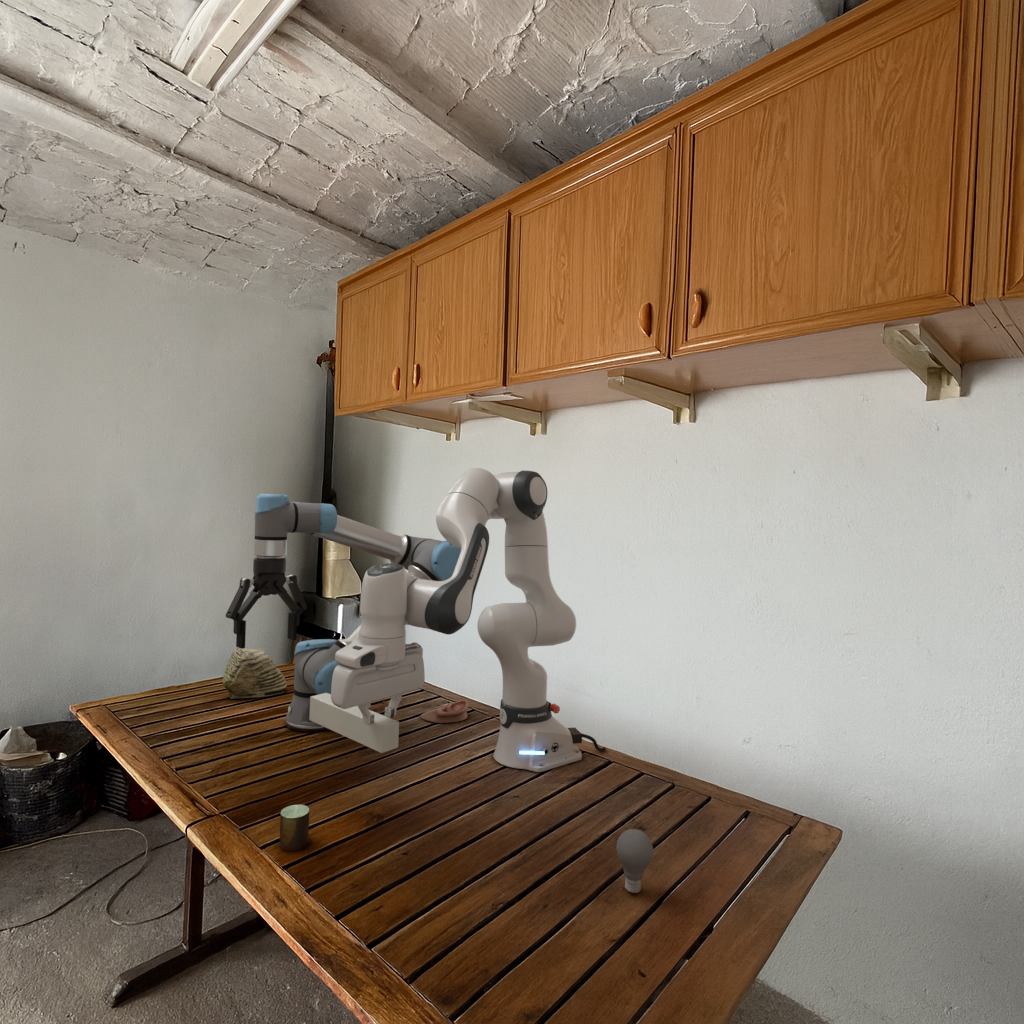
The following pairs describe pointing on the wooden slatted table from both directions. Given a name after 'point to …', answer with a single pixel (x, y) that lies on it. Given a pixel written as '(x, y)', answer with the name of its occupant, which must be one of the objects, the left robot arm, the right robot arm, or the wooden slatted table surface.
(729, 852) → the wooden slatted table surface
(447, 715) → the anatomical model
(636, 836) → the light bulb
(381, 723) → the bar
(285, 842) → the sage tin
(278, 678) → the fossil
